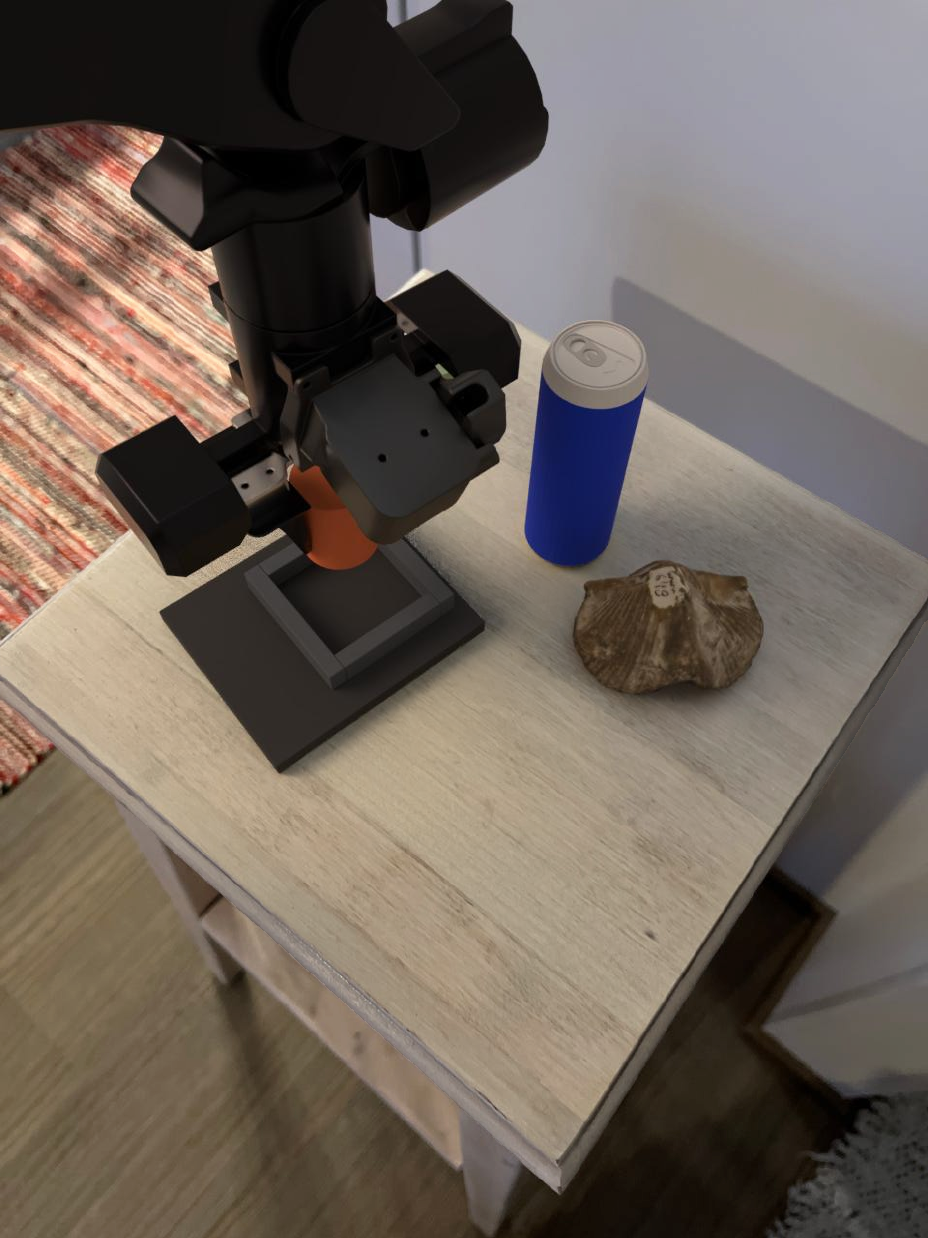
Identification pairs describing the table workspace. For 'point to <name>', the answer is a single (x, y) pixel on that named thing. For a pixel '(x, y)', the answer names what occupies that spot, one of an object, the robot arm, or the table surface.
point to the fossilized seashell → (667, 629)
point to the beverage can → (583, 439)
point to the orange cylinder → (330, 523)
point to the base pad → (317, 639)
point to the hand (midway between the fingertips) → (338, 526)
